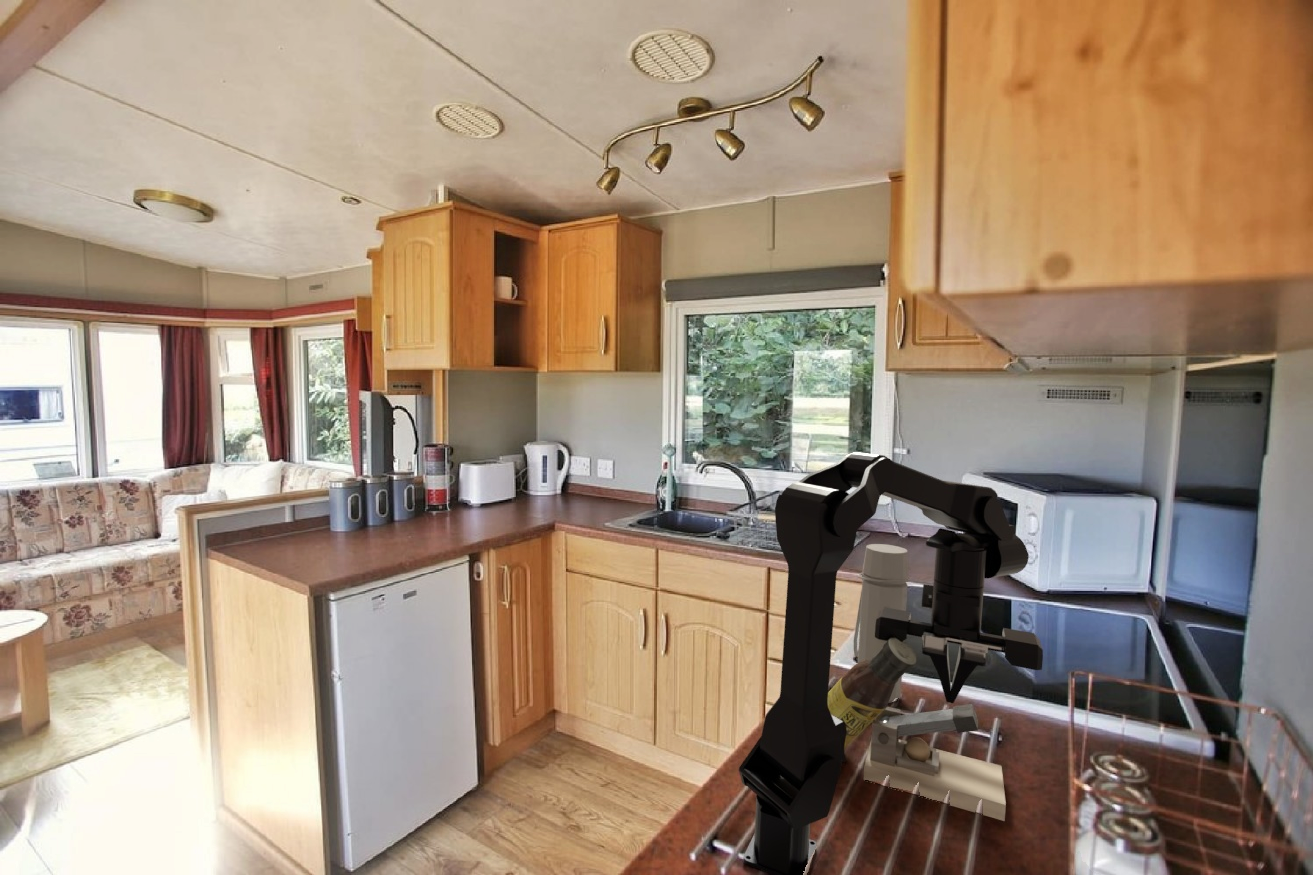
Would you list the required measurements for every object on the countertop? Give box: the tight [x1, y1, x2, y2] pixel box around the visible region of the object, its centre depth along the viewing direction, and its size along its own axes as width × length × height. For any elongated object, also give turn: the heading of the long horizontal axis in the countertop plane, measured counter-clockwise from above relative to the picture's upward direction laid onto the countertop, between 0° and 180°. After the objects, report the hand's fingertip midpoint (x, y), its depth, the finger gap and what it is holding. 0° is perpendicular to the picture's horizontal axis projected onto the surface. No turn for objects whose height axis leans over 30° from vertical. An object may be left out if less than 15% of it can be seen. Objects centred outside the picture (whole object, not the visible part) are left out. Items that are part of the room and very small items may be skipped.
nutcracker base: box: [863, 706, 1007, 822], centre depth 81 cm, size 9×16×7 cm, turn 64°
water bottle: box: [853, 543, 910, 704], centre depth 104 cm, size 9×8×25 cm
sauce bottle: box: [828, 638, 917, 751], centre depth 82 cm, size 6×6×20 cm
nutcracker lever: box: [880, 703, 979, 737], centre depth 81 cm, size 4×12×2 cm, turn 64°
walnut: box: [905, 736, 930, 762], centre depth 81 cm, size 3×3×3 cm
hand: (950, 701), depth 79 cm, fingers closed
